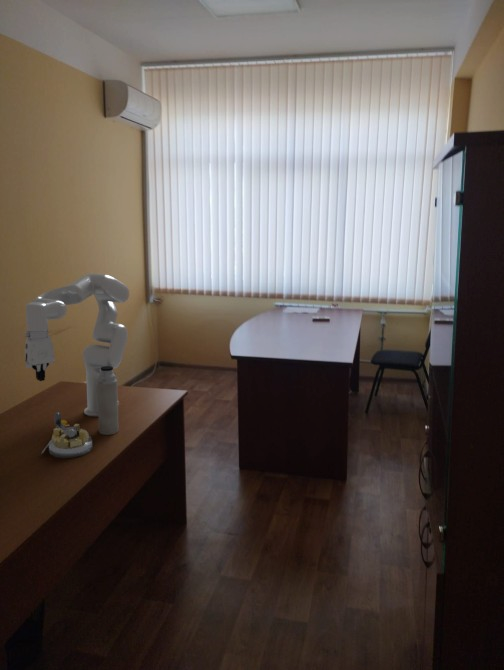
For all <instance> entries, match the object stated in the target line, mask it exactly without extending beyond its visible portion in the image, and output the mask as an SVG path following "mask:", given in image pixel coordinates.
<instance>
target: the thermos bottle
mask: <svg viewBox="0 0 504 670" xmlns="http://www.w3.org/2000/svg"><path fill="white" fill-rule="evenodd" d="M116 377H117V376H116V373H114V370H113V367H112V366H103V367H101V374H100V375H99V380H97V389H98V416H97V417H98V432H99V434H101V435H107V436H110V435H114V434H116V433H117V434H118V432H119V425H120V424H119V405H118V401H119V400H118V399H119V397H118V395H119V394H118V391H119V390H118V379H117V378H116Z"/></svg>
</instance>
